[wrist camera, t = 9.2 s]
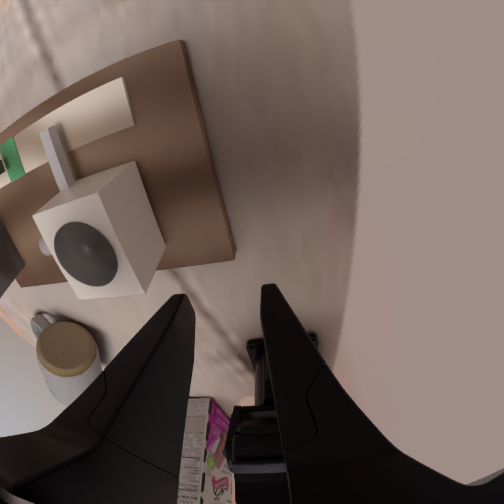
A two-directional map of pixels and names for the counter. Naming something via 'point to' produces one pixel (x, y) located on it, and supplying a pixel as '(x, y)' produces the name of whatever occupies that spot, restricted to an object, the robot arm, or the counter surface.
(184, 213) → the test rig
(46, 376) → the ceramic mug
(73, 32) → the counter surface
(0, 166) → the peak needle
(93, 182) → the gauge
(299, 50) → the counter surface
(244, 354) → the counter surface
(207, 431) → the candy bar box
